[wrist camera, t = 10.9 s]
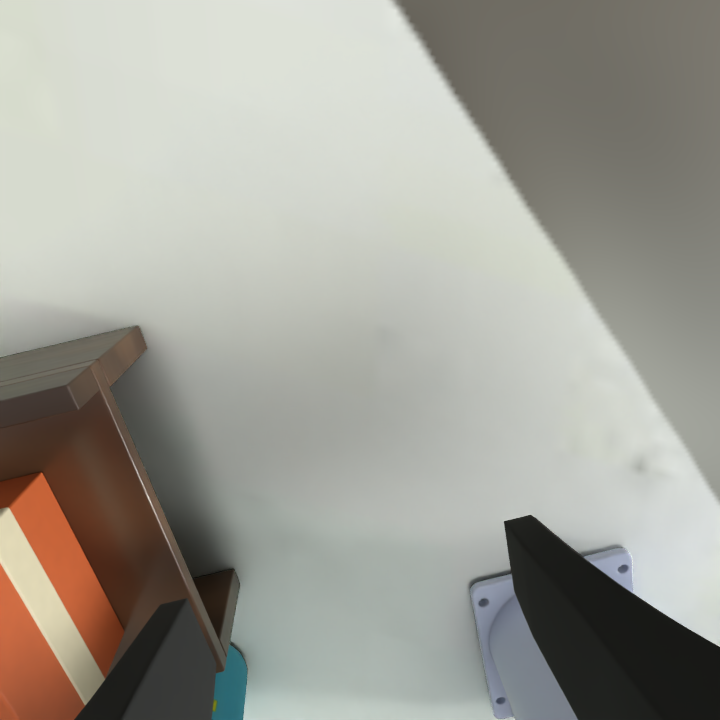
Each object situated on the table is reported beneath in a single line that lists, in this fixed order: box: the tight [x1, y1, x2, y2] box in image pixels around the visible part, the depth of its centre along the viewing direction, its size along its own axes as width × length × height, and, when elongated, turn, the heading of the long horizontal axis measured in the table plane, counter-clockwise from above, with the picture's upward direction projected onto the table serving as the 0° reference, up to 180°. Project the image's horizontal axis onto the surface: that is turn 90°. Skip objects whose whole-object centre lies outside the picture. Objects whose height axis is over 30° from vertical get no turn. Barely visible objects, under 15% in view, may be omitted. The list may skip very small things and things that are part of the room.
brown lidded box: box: [0, 326, 240, 679], centre depth 19 cm, size 13×9×6 cm
